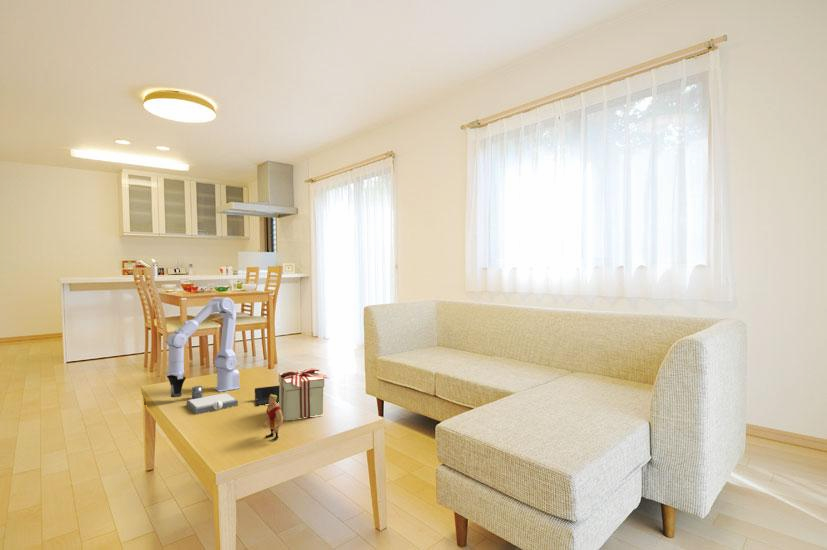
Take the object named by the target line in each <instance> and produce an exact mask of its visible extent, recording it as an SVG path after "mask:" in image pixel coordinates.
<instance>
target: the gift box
mask: <svg viewBox="0 0 827 550" xmlns="http://www.w3.org/2000/svg"><path fill="white" fill-rule="evenodd" d="M318 372H320V369H318V368H315V367H313V368H312V367H311V368H310V369H304V370H302V371H294V370H293V371H288V372H287V371H286V372H283V373H279V374H278V382H279V386H280V387H279V404H278V406H279V407H280V408H281V412H282V416H283V419H284V418H285V419H284V421H285V420H286V421H285V422H288V421H287V420H293V419H298V418H304V417H310V416H315V415H321V414H323V415H324V387H325V379H329V377H328V376H327V375H324V374H320V373H318ZM293 421H294V420H293Z"/></svg>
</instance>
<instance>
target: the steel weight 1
mask: <svg viewBox="0 0 827 550" xmlns="http://www.w3.org/2000/svg"><path fill="white" fill-rule="evenodd" d="M182 390H183V389H182ZM182 390H181V393H180V394H175V393H174V389H173V384H171V385H170V398H179V397H181V396H182V393H183V392H182Z"/></svg>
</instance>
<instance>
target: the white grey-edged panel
mask: <svg viewBox="0 0 827 550" xmlns="http://www.w3.org/2000/svg"><path fill="white" fill-rule="evenodd" d="M236 405H238V406H239V401H238V400H237V399H236V398H235V397H234V396H232V395H231V394H229V393H227V392H225V393H224V392H223V393H219V394H214V395H209V396H202V398H197V399H192V398H191V399H188V400H186V407H188V409H189V410H191V411H192V413H194V414H195V415H199V413H200V414H203V413H204V412H205V413H209V412H208V411H210V412H213V410H215V411H219V410H223V409H222V408H224V409H228V408H227V407H229V408H233V407H232V406H234V407H237V406H236ZM205 413H204V414H205Z"/></svg>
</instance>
